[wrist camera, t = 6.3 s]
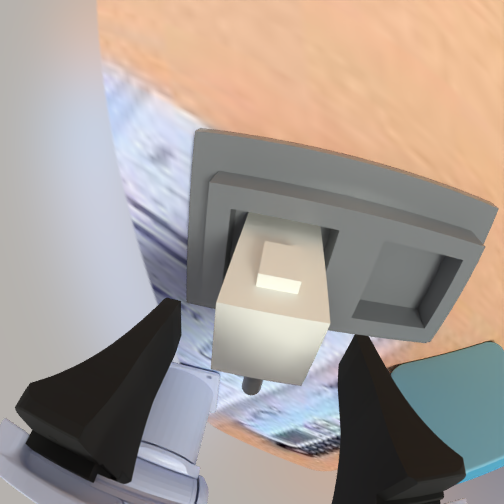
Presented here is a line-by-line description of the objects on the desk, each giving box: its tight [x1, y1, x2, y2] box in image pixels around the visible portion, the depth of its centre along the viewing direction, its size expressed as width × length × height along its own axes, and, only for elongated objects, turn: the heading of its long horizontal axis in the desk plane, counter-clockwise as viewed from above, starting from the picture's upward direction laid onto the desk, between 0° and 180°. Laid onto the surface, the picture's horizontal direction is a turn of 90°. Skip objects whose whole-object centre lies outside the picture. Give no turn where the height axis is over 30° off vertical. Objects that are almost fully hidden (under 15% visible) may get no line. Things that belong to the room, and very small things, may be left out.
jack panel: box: [187, 128, 498, 343], centre depth 18 cm, size 19×12×3 cm, turn 82°
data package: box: [391, 342, 504, 484], centre depth 18 cm, size 12×4×12 cm, turn 107°
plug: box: [211, 212, 330, 395], centre depth 15 cm, size 4×8×8 cm, turn 172°
